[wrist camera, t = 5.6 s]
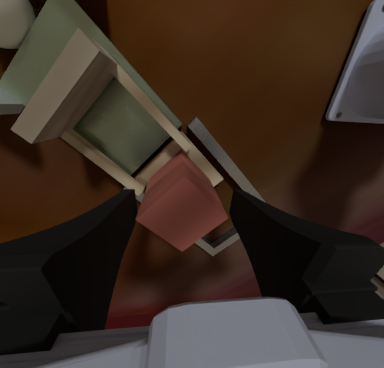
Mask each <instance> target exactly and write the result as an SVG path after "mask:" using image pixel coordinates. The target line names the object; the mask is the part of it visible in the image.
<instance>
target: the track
mask: <svg viewBox="0 0 384 368" xmlns="http://www.w3.org/2000/svg"><path fill="white" fill-rule="evenodd" d="M77 28H79V29H81V30H82V31H83V32H84V33H85V34H87V35H88V36H89V37H90V38H91V39H93V40H94V41H95V42H96V43H98V44H99V45H100V46H101V47H102V48H104V49H105V50H106V51H107V52H108V53H109V54H110V55H111V56H112V57H113V58H114V59H115V60H116V62H117V63H118V64H119V65H120V66H121V67H122V68H123V70H124V71H125V72H126V73H127V74H128V75H129V76H130V77H131V78H132V79H133V81H134V82H135V83H136V84H137V85H138V86H139V87H140V88H141V89H142V91H143V92H144V93H145V94H146V95H147V96H148V97H149V98H150V99H151V101H152V102H153V103H154V104H155V105H156V106H157V107H158V108H159V109H160V111H161V112H162V113H163V114H164V115H165V116H166V117H167V118H168V119H169V120H170V122H171V123H172V124H173V125H174V126H175V127H176V128H177V129H178V128H179V127H180V126H181V125H182V122H181V121H180V120H179V119H178V118H177V116H176V115H175V114H174V113H173V112H172V111H171V109H170V108H169V107H168V106H167V105H166V104H165V103H164V101H163V100H162V99H161V98H160V97H159V96H158V95H157V93H156V92H155V91H154V90H153V89H152V88H151V86H150V85H149V84H148V83H147V82H146V81H145V80H144V78H143V77H142V76H141V75H140V74H139V73H138V71H137V70H136V69H135V68H134V67H133V66H132V65H131V63H130V62H129V61H128V60H127V59H126V58H125V57H124V55H123V54H122V53H121V52H120V51H119V50H118V48H117V47H116V46H115V45H114V44H113V43H112V42H111V40H110V39H109V38H108V37H107V36H106V35H105V34H104V32H103V31H102V30H101V29H100V28H99V27H98V25H97V24H96V23H95V22H94V21H93V20H92V19H91V17H90V16H89V15H88V14H87V13H86V12H85V11H84V9H83V8H82V7H81V6H80V5H79V4H78V3H77V2H76V0H47V1H46V3H45V5H44V6H43V8H42V10H41V11H40V13H39V15H38V17H37V18H36V20H35V22H34V23H33V25H32V27H31V29H30V30H29V32H28V34H27V35H26V37H25V39H24V41H23V42H22V44H21V46H20V48H19V49H18V51H17V53H16V54H15V56H14V58H13V60H12V61H11V63H10V65H9V66H8V68H7V70H6V72H5V73H4V75H3V77H2V78H1V80H0V87H1V88H2V89H3V90H5V91H6V92H7V93H8V94H10V95H11V96H12V97H14V98H15V99H16V100H18V101H19V102H20V103H21V104H23V105H24V106H25V107H26V105H27V104H28V102H29V101H30V99H31V98H32V96H33V95H34V93H35V92H36V90H37V89H38V87H39V86H40V84H41V83H42V81H43V80H44V78H45V77H46V75H47V74H48V72H49V71H50V69H51V68H52V66H53V65H54V63H55V62H56V60H57V58H58V57H59V55H60V54H61V52H62V51H63V49H64V48H65V46H66V45H67V43H68V42H69V40H70V39H71V37H72V36H73V34H74V33H75V31H76V30H77ZM187 126H188V127H189V128H190V129H191V130H192V132H193V133H194V134H195V135H196V136H197V137H198V139H199V140H200V141H201V142H202V143H203V144H204V146H205V147H206V148H207V149H208V150H209V151H210V153H211V154H212V155H213V156H214V157H215V158H216V159H217V161H218V162H219V163H220V164H221V165H222V166H223V168H224V169H225V170H226V171H227V172H228V173H229V175H230V176H231V177H232V178H233V179H234V180H235V182H236V183H237V184H238V185H239V186H240V187H241V189H242V190H244V191H246V192H248V193H249V194H251V195H253V196H255V197H257V198H258V199H260V200H262V201H264V200H263V199H262V197H261V196H260V195H259V194H258V192H257V191H256V190H255V189H254V187H253V186H252V185H251V184H250V182H249V181H248V180H247V179H246V177H245V176H244V175H243V174H242V173H241V171H240V170H239V169H238V168H237V166H236V165H235V164H234V163H233V161H232V160H231V159H230V158H229V156H228V155H227V154H226V153H225V152H224V150H223V149H222V148H221V147H220V145H219V144H218V143H217V142H216V140H215V139H214V138H213V137H212V135H211V134H210V133H209V132H208V131H207V129H206V128H205V127H204V126H203V124H202V123H201V122H200V121H199V119H198V118H197V117H194V118H193V119H192V120H191V121H190V122H189V123H188V124H187ZM73 130H74V131H76V132H77V133H78V134H79V135H81V136H82V137H83V138H84V139H85V140H87V141H88V142H89V143H90V144H92V145H93V146H94V147H95V148H97V149H98V150H99V151H100V152H102V153H103V154H104V155H105V156H107V157H108V158H109V159H110V160H112V161H113V162H114V163H115V164H116V165H118V166H119V167H120V168H121V169H123V170H124V171H125V172H126V173H128V174H129V175H130V176H131V175H132V174H133V173H134V172H135V171H136V170H137V169H138V168H139V167H140V166H141V165H142V164H143V163H144V162H145V161H146V160H147V159H148V158H149V157H150V156H151V155H152V154H153V153H154V152H155V151H156V150H157V149H158V148H159V147H160V146H161V145H162V144H163V143H164V142H165V141H166V140H167V139H168V138H169V137H170V135H169V134H168V132H167V131H166V130H165V129H164V128H163V127H162V126H161V125H160V124H159V123H158V122H157V121H156V120H155V119H154V118H153V117H152V116H151V114H150V113H149V112H148V111H147V110H146V109H145V108H144V107H143V106H142V105H141V104H140V103H139V102H138V101H137V100H136V99H135V98H134V96H133V95H132V94H131V93H130V92H129V91H128V90H127V89H126V88H125V87H124V86H123V85H122V84H121V83H120V82H119V81H118V80H117V78H116V77H115V76H114V78H113V79H112V80H111V81H110V83H109V84H108V85H107V87H106V88H105V89H104V90H103V92H102V93H101V94H100V95H99V97H98V98H97V99H96V100H95V102H94V103H93V104H92V105H91V107H90V108H89V109H88V111H87V112H86V113H85V114H84V116H83V117H82V118H81V119H80V121H79V122H78V123H77V124H76V126H75V127H74V128H73ZM123 189H124V190H125V189H128V188H127V187H124V188H123ZM145 191H146V189H145V188H144V190H143V192H142V193H141V194H140V195H139V196H137V195H136V194H135V196H136V199H137V200H138V201H140V202H142V199H143V197H144V194H145ZM264 202H265V201H264ZM265 203H266V202H265ZM239 238H240V237H239V235H238V233H237V231H236V229H235V227H234V228H232V229H231V230H229V231H228V232H227V233H225V234H224V235H222V236H221V237H219V238H218V239H217V240H215V241H214V242H211V241H210V240H209V239H207V238H206V237H205V236H203V237H202V238H200V239H199V240H198V241H196V242H195V243H196V244H197V245H198V246H200V247H201V248H202V249H204V250H205V251H206V252H208V253H209V254H210V255H212V256H214V255H216V254H217V253H219V252H220V251H222V250H223V249H224V248H226V247H227V246H229V245H230V244H232V243H233V242H235V241H236V240H238V239H239Z"/></svg>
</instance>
